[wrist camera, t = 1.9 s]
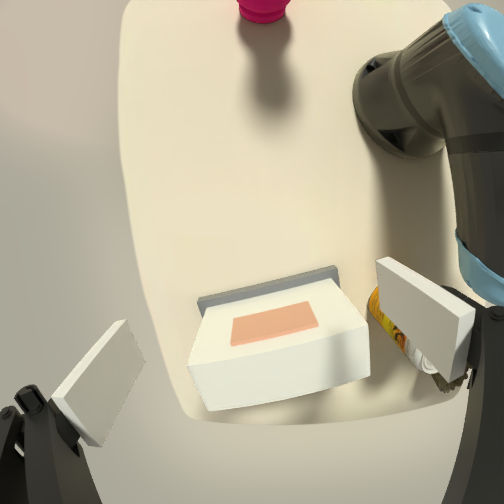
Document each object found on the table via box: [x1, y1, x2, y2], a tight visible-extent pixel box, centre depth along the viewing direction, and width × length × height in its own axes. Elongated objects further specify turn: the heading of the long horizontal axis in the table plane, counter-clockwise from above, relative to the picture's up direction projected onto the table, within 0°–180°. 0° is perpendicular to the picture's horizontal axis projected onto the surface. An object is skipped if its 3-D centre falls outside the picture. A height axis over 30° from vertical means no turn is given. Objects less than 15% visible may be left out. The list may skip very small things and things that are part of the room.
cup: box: [431, 362, 473, 393], centre depth 35 cm, size 8×7×8 cm
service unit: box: [187, 265, 370, 411], centre depth 29 cm, size 18×8×14 cm, turn 104°
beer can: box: [369, 287, 438, 374], centre depth 29 cm, size 6×6×15 cm
